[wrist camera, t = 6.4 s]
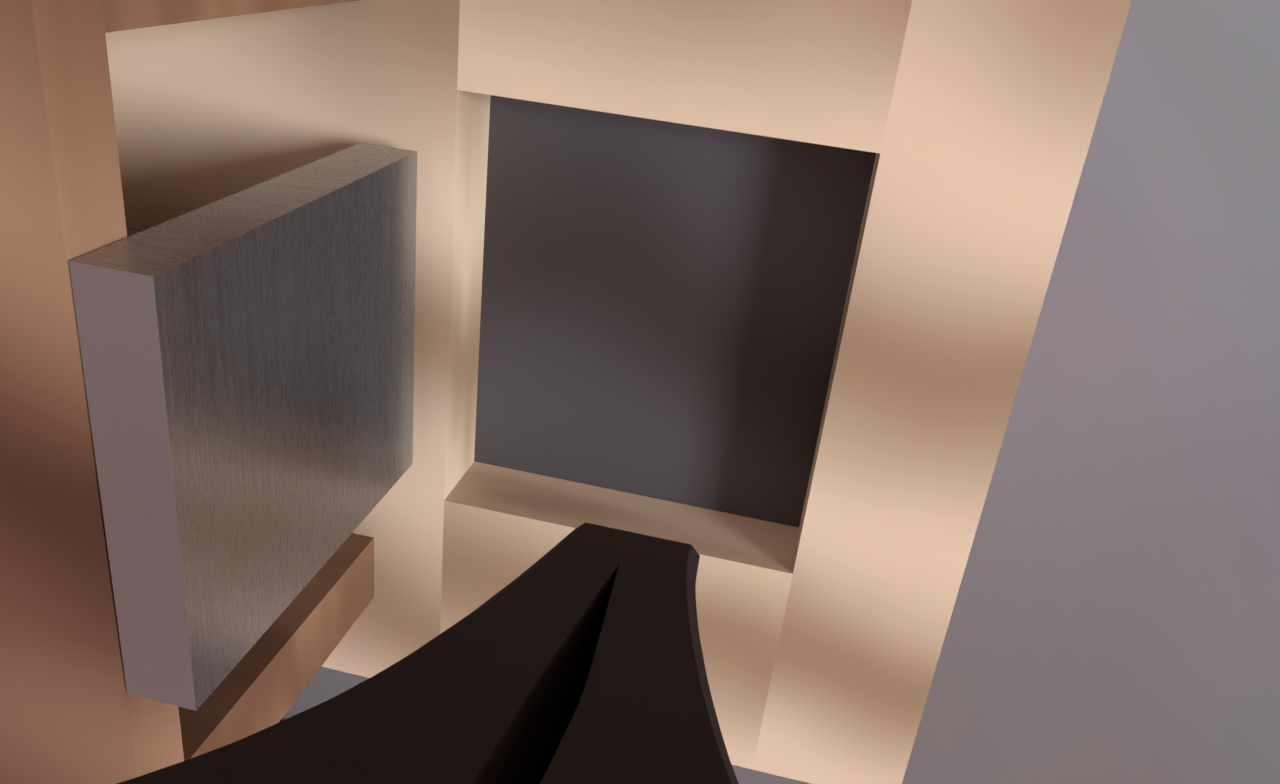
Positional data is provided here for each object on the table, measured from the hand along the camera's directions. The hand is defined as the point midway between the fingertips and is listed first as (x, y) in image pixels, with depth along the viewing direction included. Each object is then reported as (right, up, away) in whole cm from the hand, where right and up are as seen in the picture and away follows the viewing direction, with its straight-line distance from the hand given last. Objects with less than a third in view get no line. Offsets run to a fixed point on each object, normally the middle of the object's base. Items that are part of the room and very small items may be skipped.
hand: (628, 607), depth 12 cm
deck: (-6, +5, +10) cm, 13 cm away
